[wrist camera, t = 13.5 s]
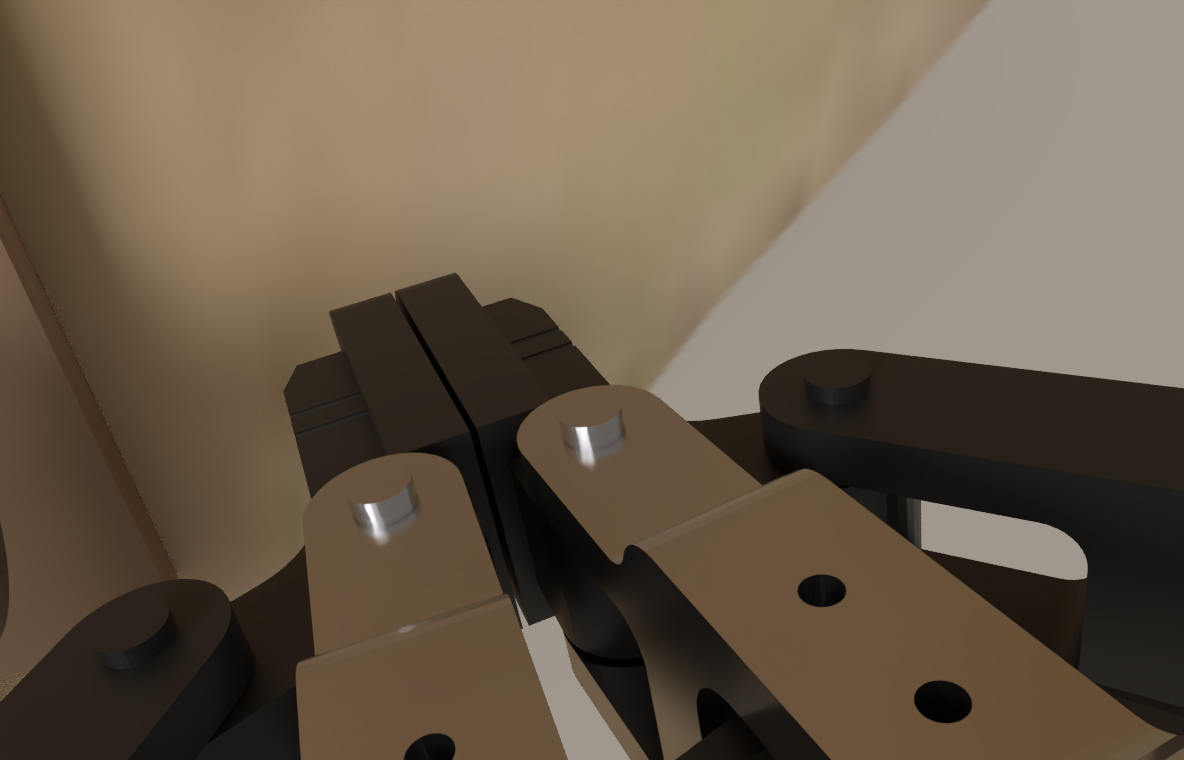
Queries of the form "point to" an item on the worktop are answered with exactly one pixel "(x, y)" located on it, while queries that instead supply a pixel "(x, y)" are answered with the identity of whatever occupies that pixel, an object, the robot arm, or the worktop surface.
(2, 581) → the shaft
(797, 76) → the worktop surface
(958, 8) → the worktop surface
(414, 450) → the robot arm
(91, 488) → the base board
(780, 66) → the worktop surface
